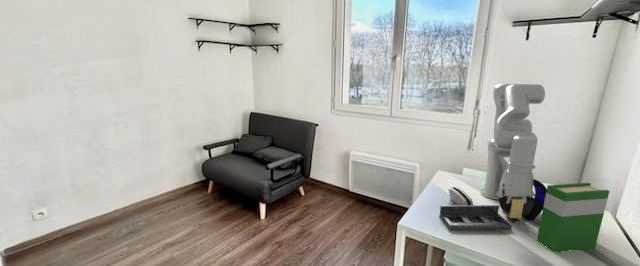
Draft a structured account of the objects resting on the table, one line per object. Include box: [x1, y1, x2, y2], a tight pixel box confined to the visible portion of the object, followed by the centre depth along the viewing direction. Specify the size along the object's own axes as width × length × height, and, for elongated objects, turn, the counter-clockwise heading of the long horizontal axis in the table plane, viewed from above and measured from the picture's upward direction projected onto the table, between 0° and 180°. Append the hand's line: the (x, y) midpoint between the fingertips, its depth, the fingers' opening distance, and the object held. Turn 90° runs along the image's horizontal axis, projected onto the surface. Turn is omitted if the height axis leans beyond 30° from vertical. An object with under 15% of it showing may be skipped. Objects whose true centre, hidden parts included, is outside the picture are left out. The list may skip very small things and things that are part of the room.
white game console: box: [448, 186, 474, 205], centre depth 140 cm, size 17×5×10 cm, turn 5°
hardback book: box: [536, 182, 610, 254], centre depth 108 cm, size 18×7×24 cm, turn 97°
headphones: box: [498, 178, 547, 222], centre depth 127 cm, size 19×7×20 cm, turn 94°
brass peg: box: [502, 197, 524, 219], centre depth 111 cm, size 4×4×8 cm
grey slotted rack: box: [438, 204, 513, 232], centre depth 125 cm, size 26×11×6 cm, turn 89°
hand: (512, 210), depth 112 cm, fingers closed on brass peg, 4 cm apart
